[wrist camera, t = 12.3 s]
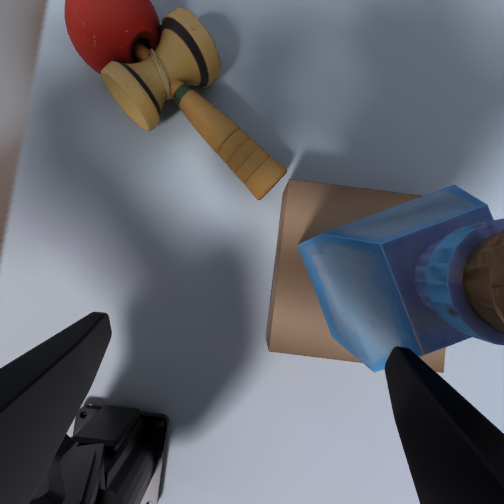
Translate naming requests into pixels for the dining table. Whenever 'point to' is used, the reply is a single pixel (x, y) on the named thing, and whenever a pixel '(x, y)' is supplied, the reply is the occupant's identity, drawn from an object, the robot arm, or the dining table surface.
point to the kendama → (165, 75)
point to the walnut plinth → (295, 273)
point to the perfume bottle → (411, 277)
